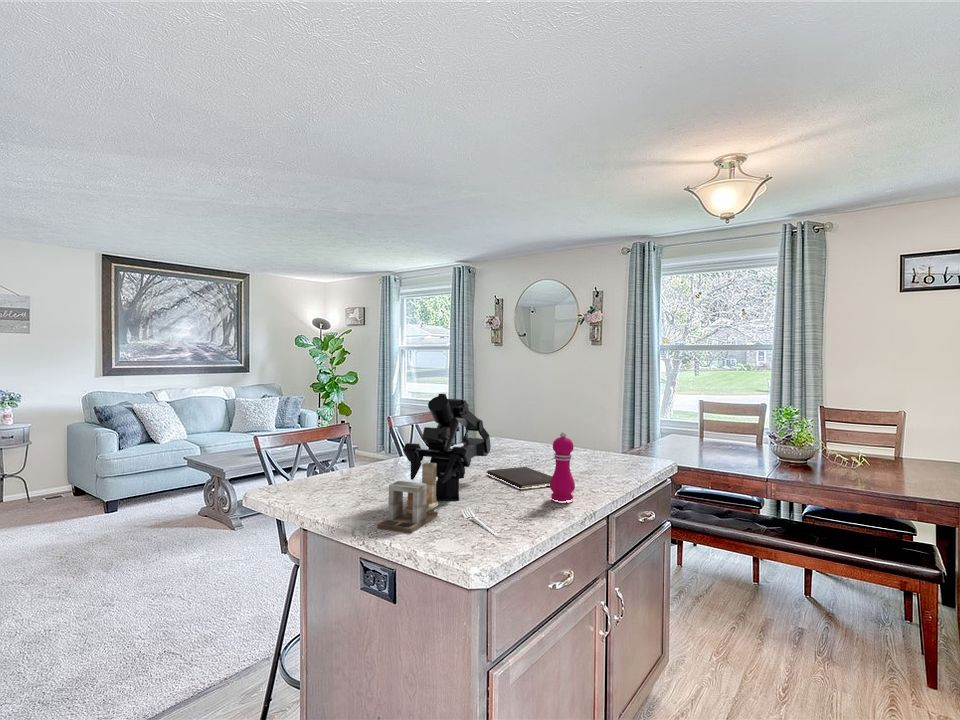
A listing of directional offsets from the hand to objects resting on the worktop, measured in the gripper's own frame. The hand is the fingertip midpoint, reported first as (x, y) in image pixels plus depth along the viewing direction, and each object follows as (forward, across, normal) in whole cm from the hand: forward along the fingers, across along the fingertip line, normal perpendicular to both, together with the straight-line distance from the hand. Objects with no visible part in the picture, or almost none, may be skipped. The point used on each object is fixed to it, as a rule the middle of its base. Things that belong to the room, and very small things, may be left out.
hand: (427, 480), depth 137 cm
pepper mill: (-12, +32, +23) cm, 41 cm away
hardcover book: (-26, +14, +38) cm, 48 cm away
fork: (+10, +17, +2) cm, 20 cm away
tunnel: (+13, 0, -2) cm, 13 cm away
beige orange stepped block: (+7, 0, +3) cm, 7 cm away
